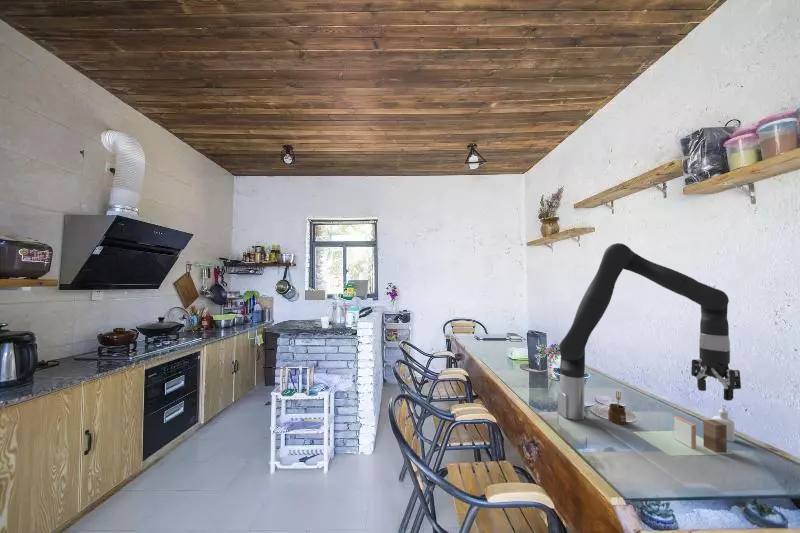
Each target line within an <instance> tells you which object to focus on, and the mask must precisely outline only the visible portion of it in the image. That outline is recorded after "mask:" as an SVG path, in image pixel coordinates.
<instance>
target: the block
mask: <svg viewBox="0 0 800 533" xmlns="http://www.w3.org/2000/svg"><path fill="white" fill-rule="evenodd" d="M702 424H703V439H704V447H706V448H708V449H710V450H712V451H713V452H715V453H719V452H727V451H728V449H727V446H728V445H727V443H728V441H727V425H725V424H723V423H721V422H718V421H716V420H712V419H703V423H702Z"/></svg>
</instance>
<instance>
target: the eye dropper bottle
mask: <svg viewBox="0 0 800 533" xmlns="http://www.w3.org/2000/svg"><path fill="white" fill-rule="evenodd" d="M711 420H716V421H718V422H721V423H723V424H725V425H727V442H730V443H733V442H735V422H734V421H733V420H731V419H730V418H729V412H728V411H727V410H726V409H725V407H723V406H722V407H721V408H720V409H718V414H717V415H714V416H713V417H712V419H711Z"/></svg>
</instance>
